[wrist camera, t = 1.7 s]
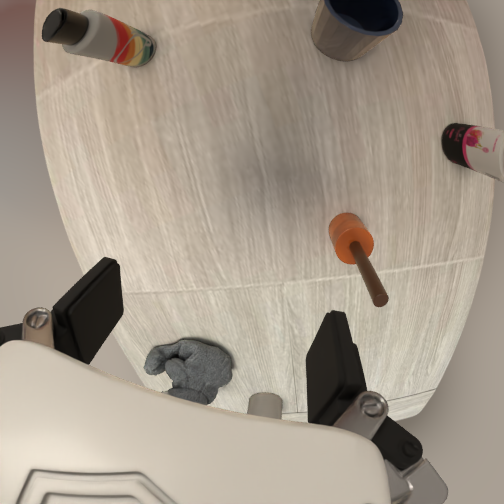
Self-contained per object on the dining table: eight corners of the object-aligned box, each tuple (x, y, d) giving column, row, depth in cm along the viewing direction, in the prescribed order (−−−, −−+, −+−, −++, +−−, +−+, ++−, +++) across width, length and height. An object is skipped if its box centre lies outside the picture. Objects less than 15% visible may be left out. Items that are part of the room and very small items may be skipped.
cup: (243, 396, 61) (237, 429, 52) (273, 389, 59) (270, 424, 50) (259, 411, 64) (255, 442, 55) (287, 405, 62) (286, 438, 53)
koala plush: (146, 348, 57) (112, 414, 40) (199, 320, 51) (167, 403, 34) (197, 389, 62) (177, 454, 45) (253, 370, 56) (242, 449, 39)
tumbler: (339, 5, 24) (361, -36, 13) (379, 45, 27) (417, 18, 15) (298, 30, 27) (305, -9, 16) (339, 71, 30) (365, 49, 18)
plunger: (350, 205, 38) (392, 265, 22) (368, 232, 40) (413, 302, 24) (321, 227, 40) (344, 298, 24) (341, 252, 42) (369, 330, 26)
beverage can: (434, 132, 31) (496, 145, 18) (460, 117, 29) (524, 126, 15) (449, 169, 33) (509, 197, 20) (474, 153, 31) (535, 175, 17)
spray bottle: (159, 58, 31) (71, 28, 13) (127, 73, 32) (32, 60, 14) (153, 29, 28) (70, -11, 10) (122, 44, 29) (32, 21, 12)
